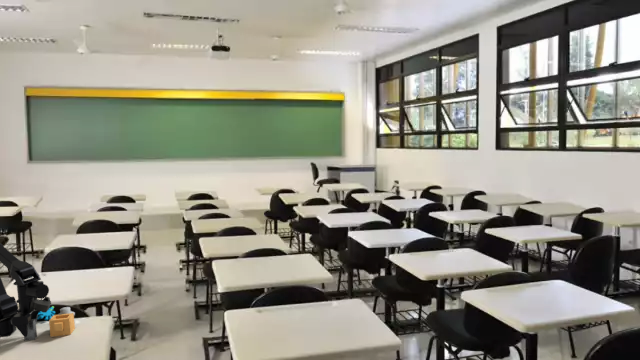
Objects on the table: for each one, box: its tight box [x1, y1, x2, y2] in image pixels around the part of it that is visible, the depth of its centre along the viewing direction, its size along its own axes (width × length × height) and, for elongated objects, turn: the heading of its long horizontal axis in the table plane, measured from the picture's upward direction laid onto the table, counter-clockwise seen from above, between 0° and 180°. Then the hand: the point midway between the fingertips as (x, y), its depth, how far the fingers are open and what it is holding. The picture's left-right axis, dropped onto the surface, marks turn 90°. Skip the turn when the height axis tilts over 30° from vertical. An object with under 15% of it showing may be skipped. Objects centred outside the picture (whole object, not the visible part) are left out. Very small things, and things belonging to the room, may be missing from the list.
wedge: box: [23, 319, 38, 342], centre depth 204 cm, size 4×2×8 cm, turn 101°
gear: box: [37, 305, 56, 321], centre depth 226 cm, size 11×6×10 cm
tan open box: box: [48, 306, 76, 338], centre depth 211 cm, size 8×14×8 cm, turn 11°
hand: (29, 331), depth 204 cm, fingers open, 9 cm apart
